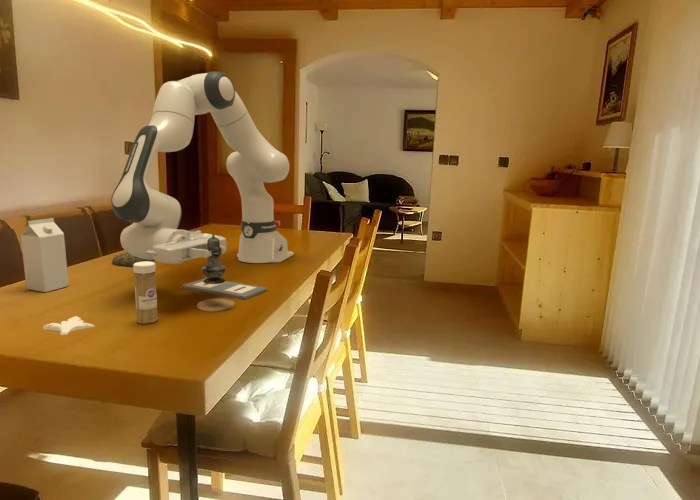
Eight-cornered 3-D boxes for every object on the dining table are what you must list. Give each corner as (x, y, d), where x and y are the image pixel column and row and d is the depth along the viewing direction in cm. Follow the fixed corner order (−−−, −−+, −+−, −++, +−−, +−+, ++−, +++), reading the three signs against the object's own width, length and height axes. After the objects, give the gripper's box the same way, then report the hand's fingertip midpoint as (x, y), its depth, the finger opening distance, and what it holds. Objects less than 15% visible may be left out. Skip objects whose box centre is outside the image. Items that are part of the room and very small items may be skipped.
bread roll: (127, 269, 156) (126, 254, 155) (106, 263, 163) (105, 249, 162) (162, 262, 167) (161, 248, 166) (141, 257, 174) (140, 244, 173)
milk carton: (26, 289, 130) (18, 220, 126) (50, 283, 137) (44, 217, 133) (45, 292, 128) (38, 222, 124) (68, 286, 134) (62, 218, 130)
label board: (206, 280, 144) (206, 276, 144) (267, 290, 135) (267, 286, 135) (181, 288, 135) (181, 284, 135) (245, 299, 126) (245, 295, 126)
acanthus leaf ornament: (43, 332, 102) (42, 323, 102) (74, 323, 108) (73, 314, 108) (64, 338, 99) (63, 329, 98) (95, 328, 105) (94, 320, 104)
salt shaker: (219, 285, 116) (218, 236, 113) (197, 283, 117) (196, 234, 115) (230, 279, 121) (230, 232, 119) (209, 277, 122) (208, 231, 120)
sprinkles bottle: (147, 325, 106) (144, 266, 103) (131, 322, 107) (128, 263, 105) (162, 319, 110) (159, 262, 107) (147, 316, 112) (144, 259, 109)
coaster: (214, 298, 126) (213, 296, 126) (241, 303, 123) (241, 301, 122) (189, 308, 118) (189, 305, 118) (218, 313, 115) (218, 311, 114)
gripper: (140, 239, 113) (185, 245, 107) (201, 229, 131) (242, 234, 126) (141, 265, 114) (185, 273, 109) (201, 252, 133) (242, 257, 127)
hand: (216, 252), depth 117 cm, fingers closed on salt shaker, 4 cm apart
